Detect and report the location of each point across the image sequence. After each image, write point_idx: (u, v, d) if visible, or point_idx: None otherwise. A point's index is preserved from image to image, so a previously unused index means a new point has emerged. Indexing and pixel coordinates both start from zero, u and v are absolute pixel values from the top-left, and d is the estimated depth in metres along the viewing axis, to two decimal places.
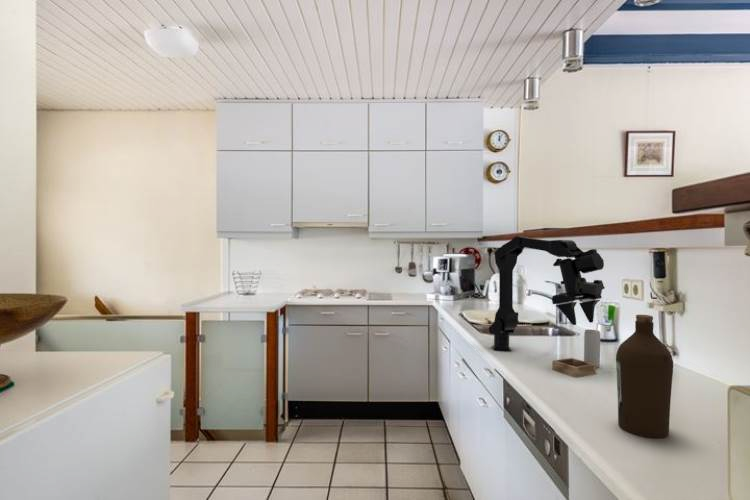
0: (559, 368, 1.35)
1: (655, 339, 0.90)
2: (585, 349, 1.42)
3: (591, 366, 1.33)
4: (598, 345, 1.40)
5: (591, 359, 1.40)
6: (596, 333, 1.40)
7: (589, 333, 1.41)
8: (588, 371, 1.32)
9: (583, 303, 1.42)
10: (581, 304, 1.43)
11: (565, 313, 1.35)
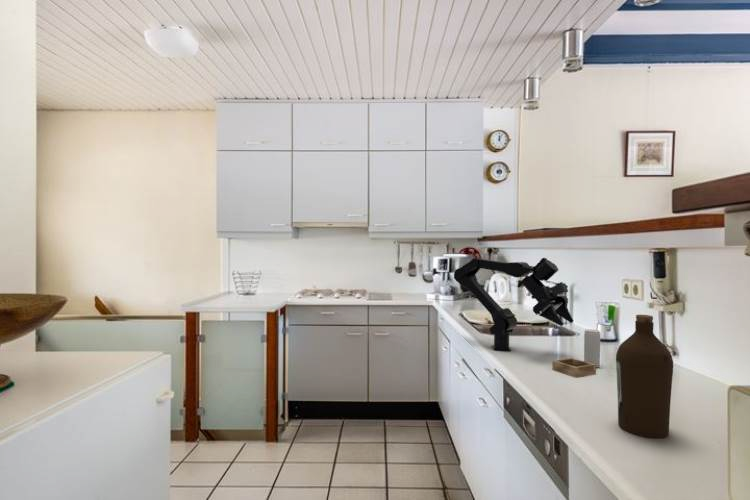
0: (559, 368, 1.35)
1: (655, 339, 0.90)
2: (585, 349, 1.42)
3: (591, 366, 1.33)
4: (598, 345, 1.40)
5: (591, 359, 1.40)
6: (596, 333, 1.40)
7: (589, 333, 1.41)
8: (588, 371, 1.32)
9: (557, 309, 1.55)
10: (556, 311, 1.56)
11: (550, 318, 1.46)
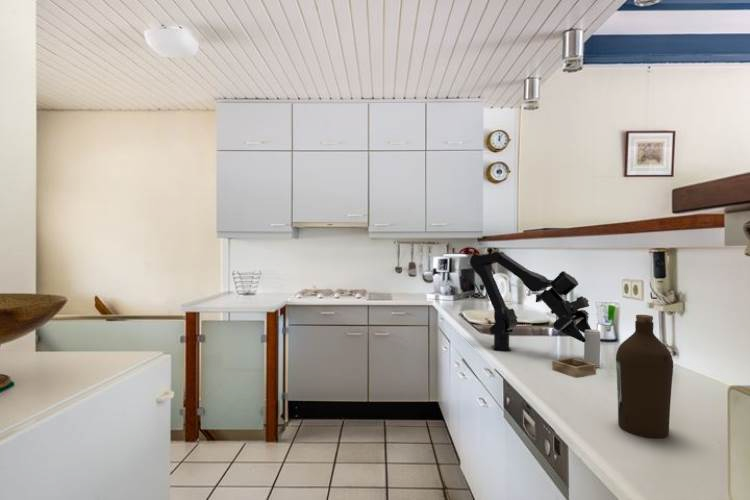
0: (559, 368, 1.35)
1: (655, 339, 0.90)
2: (585, 349, 1.42)
3: (591, 366, 1.33)
4: (598, 345, 1.40)
5: (591, 359, 1.40)
6: (596, 333, 1.40)
7: (589, 333, 1.41)
8: (588, 371, 1.32)
9: (577, 324, 1.50)
10: (576, 326, 1.51)
11: (571, 334, 1.41)
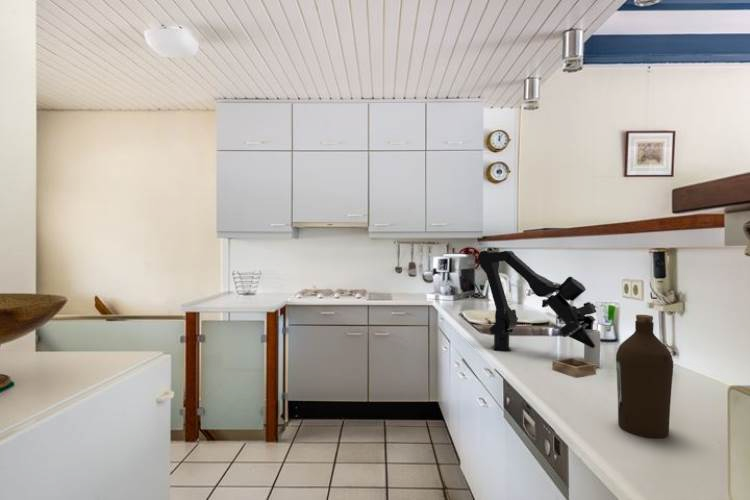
0: (559, 368, 1.35)
1: (655, 339, 0.90)
2: (585, 349, 1.42)
3: (591, 366, 1.33)
4: (598, 345, 1.40)
5: (591, 358, 1.40)
6: (596, 333, 1.40)
7: (589, 333, 1.41)
8: (588, 371, 1.32)
9: None
10: None
11: (580, 340, 1.41)
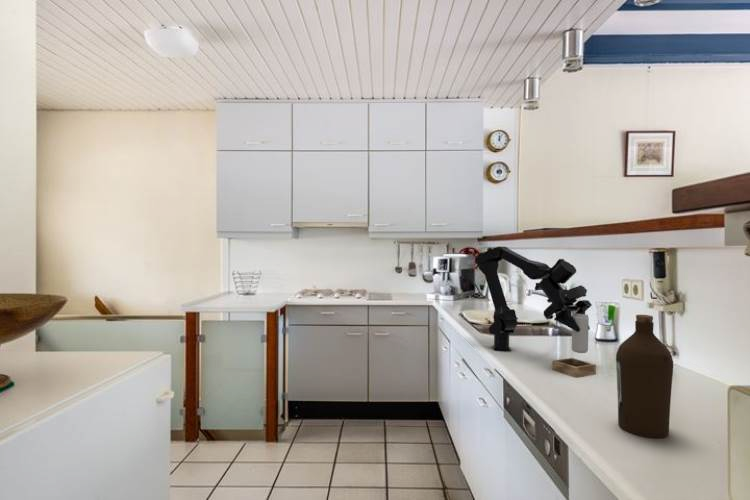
0: (559, 368, 1.35)
1: (655, 339, 0.90)
2: (572, 333, 1.37)
3: (591, 366, 1.33)
4: (585, 329, 1.35)
5: (576, 343, 1.36)
6: (582, 317, 1.35)
7: (575, 317, 1.36)
8: (588, 371, 1.32)
9: None
10: None
11: (566, 323, 1.37)
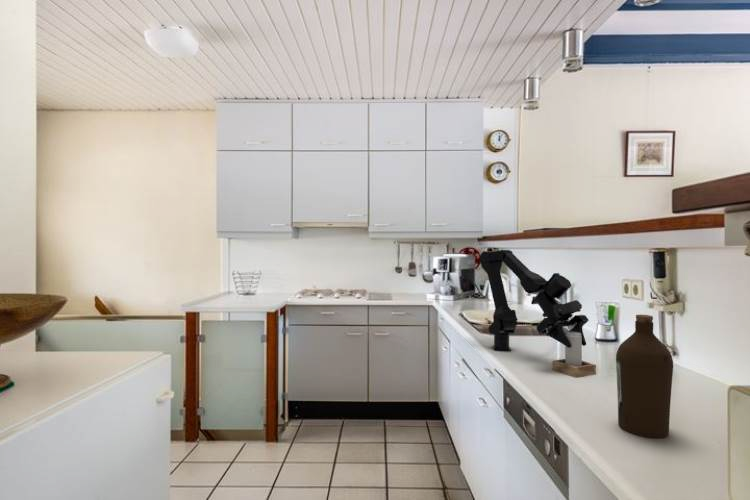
0: (559, 368, 1.35)
1: (655, 339, 0.90)
2: (565, 352, 1.36)
3: (591, 366, 1.33)
4: (577, 348, 1.33)
5: (569, 362, 1.34)
6: (574, 335, 1.33)
7: (567, 335, 1.35)
8: (588, 371, 1.32)
9: (571, 330, 1.41)
10: None
11: (557, 339, 1.36)
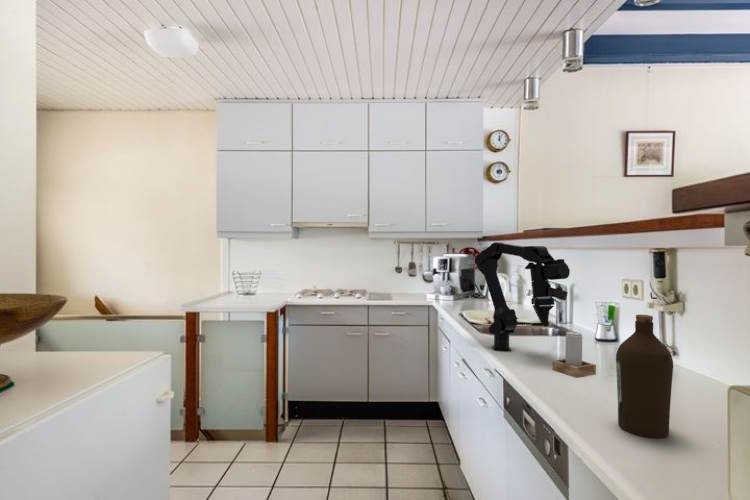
0: (559, 368, 1.35)
1: (655, 339, 0.90)
2: (566, 352, 1.36)
3: (591, 366, 1.33)
4: (578, 348, 1.33)
5: (569, 362, 1.34)
6: (575, 336, 1.33)
7: (568, 335, 1.35)
8: (588, 371, 1.32)
9: (537, 306, 1.54)
10: (535, 307, 1.54)
11: (540, 315, 1.43)
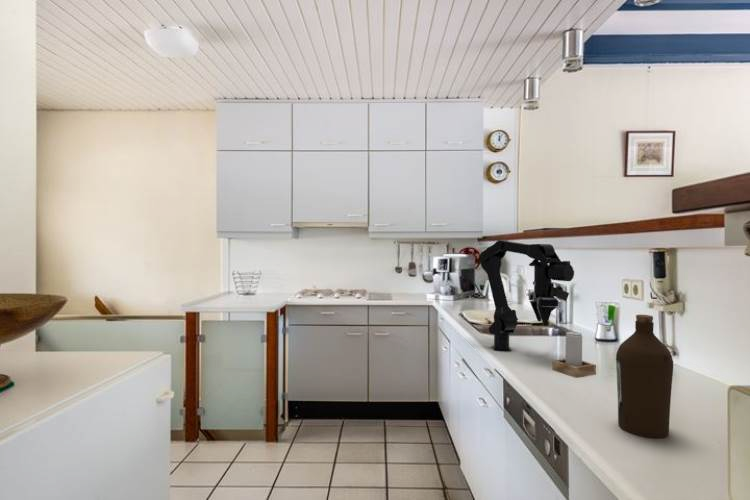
0: (559, 368, 1.35)
1: (655, 339, 0.90)
2: (566, 352, 1.36)
3: (591, 366, 1.33)
4: (578, 348, 1.33)
5: (569, 362, 1.34)
6: (575, 336, 1.33)
7: (568, 335, 1.35)
8: (588, 371, 1.32)
9: (535, 303, 1.55)
10: (532, 303, 1.55)
11: (542, 314, 1.44)
